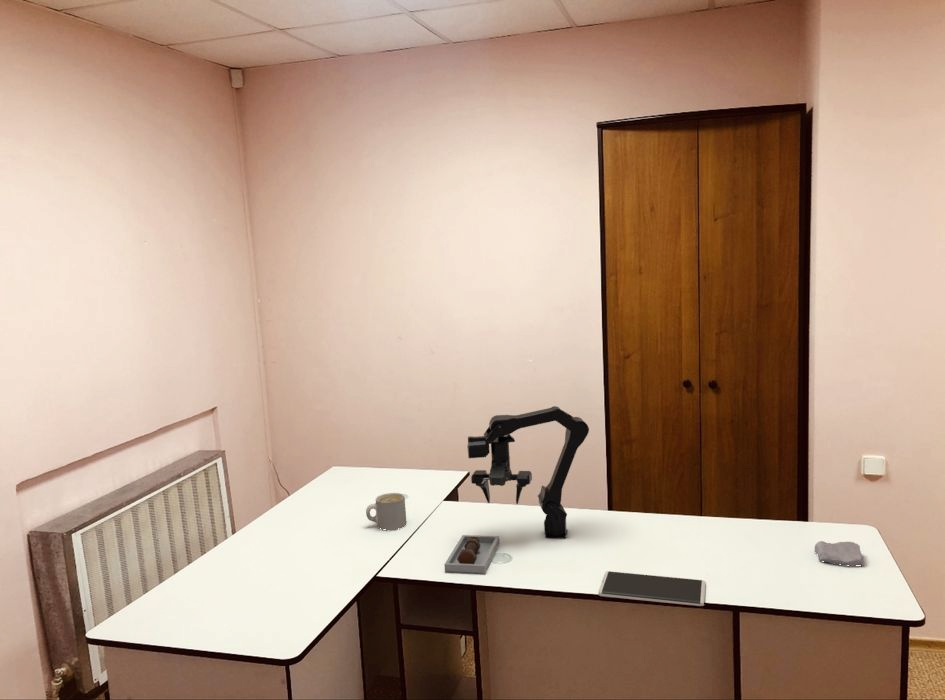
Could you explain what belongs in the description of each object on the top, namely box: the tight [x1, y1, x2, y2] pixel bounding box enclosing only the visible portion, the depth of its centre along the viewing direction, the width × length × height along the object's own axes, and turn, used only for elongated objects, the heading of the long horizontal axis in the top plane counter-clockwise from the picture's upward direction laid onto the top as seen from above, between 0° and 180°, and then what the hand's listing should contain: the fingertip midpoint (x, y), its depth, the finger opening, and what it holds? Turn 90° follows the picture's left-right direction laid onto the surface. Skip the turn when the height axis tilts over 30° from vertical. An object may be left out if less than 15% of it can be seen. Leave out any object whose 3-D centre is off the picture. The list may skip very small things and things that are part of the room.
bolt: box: [457, 537, 481, 564], centre depth 226 cm, size 6×5×15 cm
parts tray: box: [444, 534, 501, 575], centre depth 226 cm, size 12×22×2 cm, turn 167°
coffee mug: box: [365, 492, 407, 531], centre depth 256 cm, size 13×10×10 cm
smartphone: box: [597, 571, 706, 607], centre depth 199 cm, size 13×27×2 cm, turn 71°
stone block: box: [814, 540, 864, 567], centre depth 210 cm, size 12×5×10 cm
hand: (503, 503), depth 238 cm, fingers open, 9 cm apart
